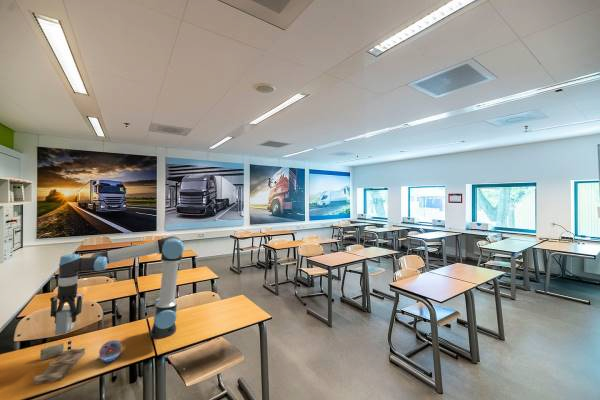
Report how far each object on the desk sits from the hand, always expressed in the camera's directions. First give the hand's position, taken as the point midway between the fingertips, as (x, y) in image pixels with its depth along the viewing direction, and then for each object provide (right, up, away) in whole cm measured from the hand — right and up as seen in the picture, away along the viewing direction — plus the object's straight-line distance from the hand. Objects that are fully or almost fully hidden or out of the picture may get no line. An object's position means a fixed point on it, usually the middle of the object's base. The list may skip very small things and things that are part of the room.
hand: (65, 328), depth 129 cm
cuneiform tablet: (-12, -19, +7) cm, 24 cm away
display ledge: (0, -19, -2) cm, 19 cm away
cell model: (+20, -20, +6) cm, 29 cm away
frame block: (0, -1, 0) cm, 1 cm away
